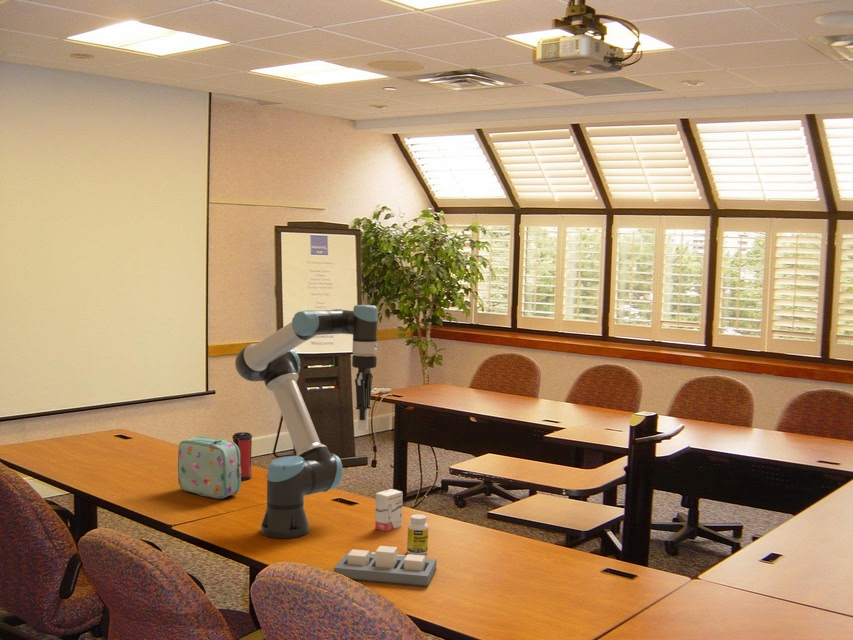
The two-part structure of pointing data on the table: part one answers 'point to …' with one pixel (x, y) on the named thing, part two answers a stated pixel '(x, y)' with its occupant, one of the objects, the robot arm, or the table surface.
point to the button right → (414, 562)
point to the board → (387, 572)
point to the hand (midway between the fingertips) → (362, 429)
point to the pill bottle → (417, 535)
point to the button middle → (386, 557)
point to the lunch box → (209, 467)
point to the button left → (358, 557)
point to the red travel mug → (244, 453)
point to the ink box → (388, 510)
